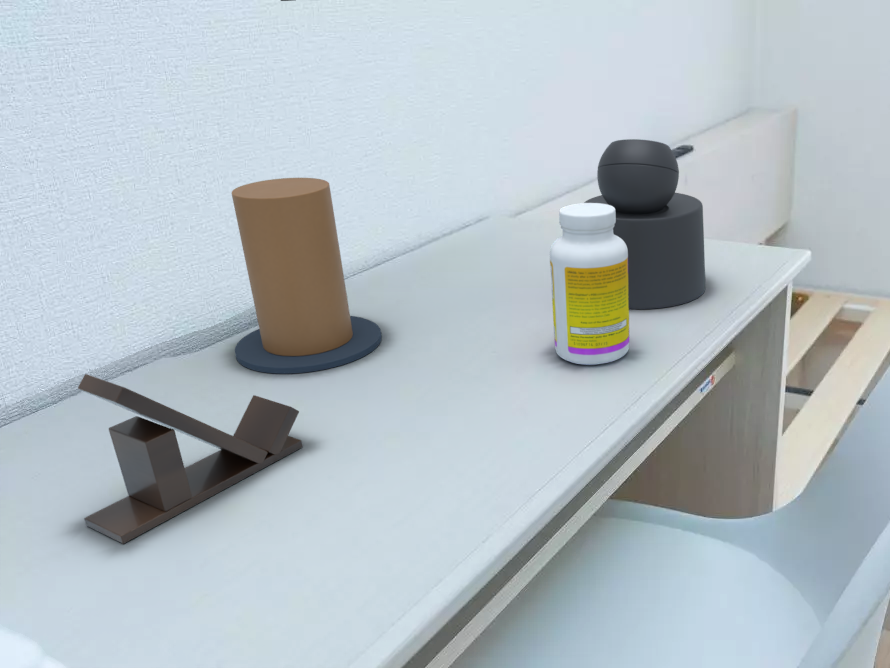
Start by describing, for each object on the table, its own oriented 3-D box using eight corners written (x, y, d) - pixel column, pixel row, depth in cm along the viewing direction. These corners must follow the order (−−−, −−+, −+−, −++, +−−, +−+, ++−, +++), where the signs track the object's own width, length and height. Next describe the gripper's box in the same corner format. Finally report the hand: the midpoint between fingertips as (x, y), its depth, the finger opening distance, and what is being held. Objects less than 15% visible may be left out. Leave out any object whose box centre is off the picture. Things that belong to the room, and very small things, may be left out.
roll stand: (85, 525, 56) (41, 390, 52) (269, 433, 67) (244, 314, 63) (123, 544, 54) (79, 404, 50) (306, 445, 65) (282, 324, 61)
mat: (205, 356, 81) (203, 350, 81) (315, 312, 91) (314, 306, 91) (303, 385, 75) (302, 378, 74) (410, 334, 84) (410, 328, 84)
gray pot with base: (718, 121, 93) (699, 146, 81) (713, 268, 100) (696, 312, 88) (594, 120, 96) (557, 144, 84) (598, 263, 103) (564, 305, 91)
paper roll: (156, 295, 73) (241, 136, 77) (286, 370, 86) (354, 231, 90) (218, 311, 69) (305, 143, 73) (345, 387, 82) (413, 241, 86)
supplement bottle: (644, 355, 78) (643, 210, 73) (581, 374, 75) (575, 223, 70) (601, 333, 84) (597, 195, 78) (540, 349, 80) (532, 207, 75)
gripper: (454, -304, 69) (478, -4, 78) (243, -257, 81) (285, -1, 90) (385, -327, 63) (419, 0, 73) (170, -272, 76) (222, 2, 85)
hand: (345, 0), depth 82 cm, fingers open, 13 cm apart
